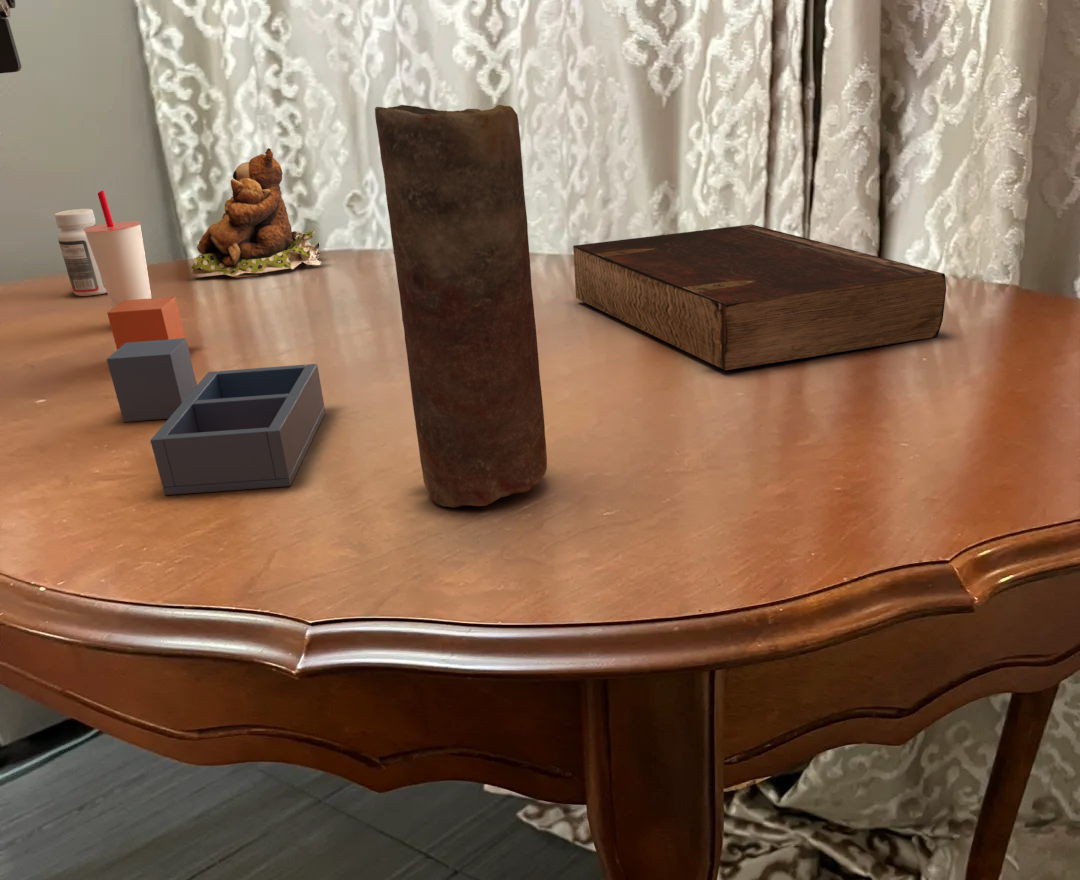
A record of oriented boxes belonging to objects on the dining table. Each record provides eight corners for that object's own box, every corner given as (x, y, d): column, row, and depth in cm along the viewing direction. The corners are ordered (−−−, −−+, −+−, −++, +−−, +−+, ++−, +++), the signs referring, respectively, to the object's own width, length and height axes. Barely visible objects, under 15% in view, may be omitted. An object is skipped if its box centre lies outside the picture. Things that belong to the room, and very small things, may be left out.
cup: (100, 325, 111) (64, 193, 104) (151, 314, 113) (119, 184, 107) (121, 332, 107) (85, 196, 101) (173, 321, 110) (141, 187, 103)
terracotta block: (121, 368, 96) (106, 312, 93) (137, 354, 100) (123, 300, 97) (174, 364, 96) (161, 308, 93) (188, 350, 99) (175, 296, 97)
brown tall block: (425, 470, 69) (377, 101, 58) (543, 460, 69) (517, 90, 58) (423, 517, 62) (369, 112, 52) (553, 505, 62) (526, 99, 52)
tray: (164, 495, 68) (149, 439, 66) (219, 420, 81) (207, 371, 79) (290, 486, 68) (279, 430, 66) (325, 412, 81) (317, 363, 79)
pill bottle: (107, 285, 128) (86, 206, 124) (123, 290, 125) (103, 209, 121) (67, 293, 126) (44, 213, 122) (82, 298, 123) (60, 216, 118)
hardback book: (940, 336, 86) (949, 267, 84) (724, 375, 81) (726, 304, 79) (752, 274, 110) (754, 219, 107) (576, 302, 105) (573, 245, 102)
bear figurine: (198, 263, 137) (174, 152, 130) (321, 250, 139) (303, 140, 132) (189, 284, 125) (162, 164, 119) (323, 270, 127) (303, 151, 121)
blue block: (123, 422, 82) (106, 358, 80) (141, 403, 86) (125, 342, 83) (185, 417, 82) (169, 354, 79) (200, 399, 86) (186, 337, 83)
